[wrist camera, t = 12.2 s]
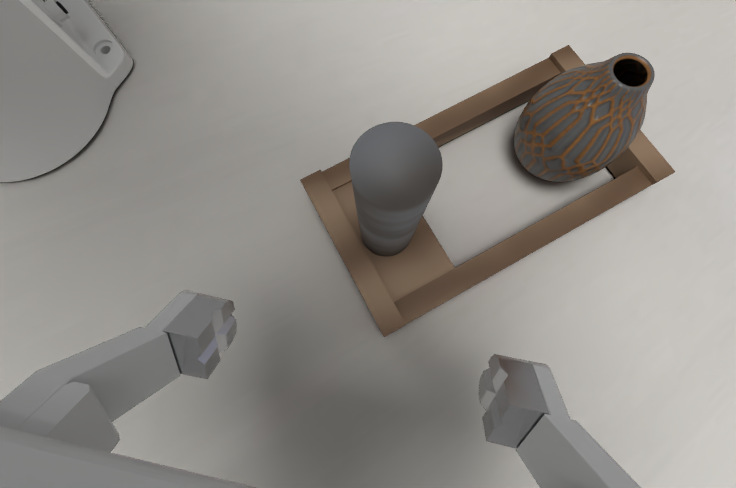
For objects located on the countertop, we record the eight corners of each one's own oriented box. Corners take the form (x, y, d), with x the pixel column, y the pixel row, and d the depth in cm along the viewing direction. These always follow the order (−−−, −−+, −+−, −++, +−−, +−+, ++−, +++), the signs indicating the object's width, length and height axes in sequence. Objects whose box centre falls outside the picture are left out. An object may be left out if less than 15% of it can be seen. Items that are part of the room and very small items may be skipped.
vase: (499, 114, 26) (560, 16, 18) (584, 117, 26) (687, 19, 17) (503, 192, 25) (572, 126, 16) (593, 196, 24) (712, 130, 16)
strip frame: (307, 192, 25) (248, 84, 13) (551, 68, 27) (685, -119, 15) (383, 334, 22) (392, 355, 11) (646, 185, 24) (893, 67, 13)
